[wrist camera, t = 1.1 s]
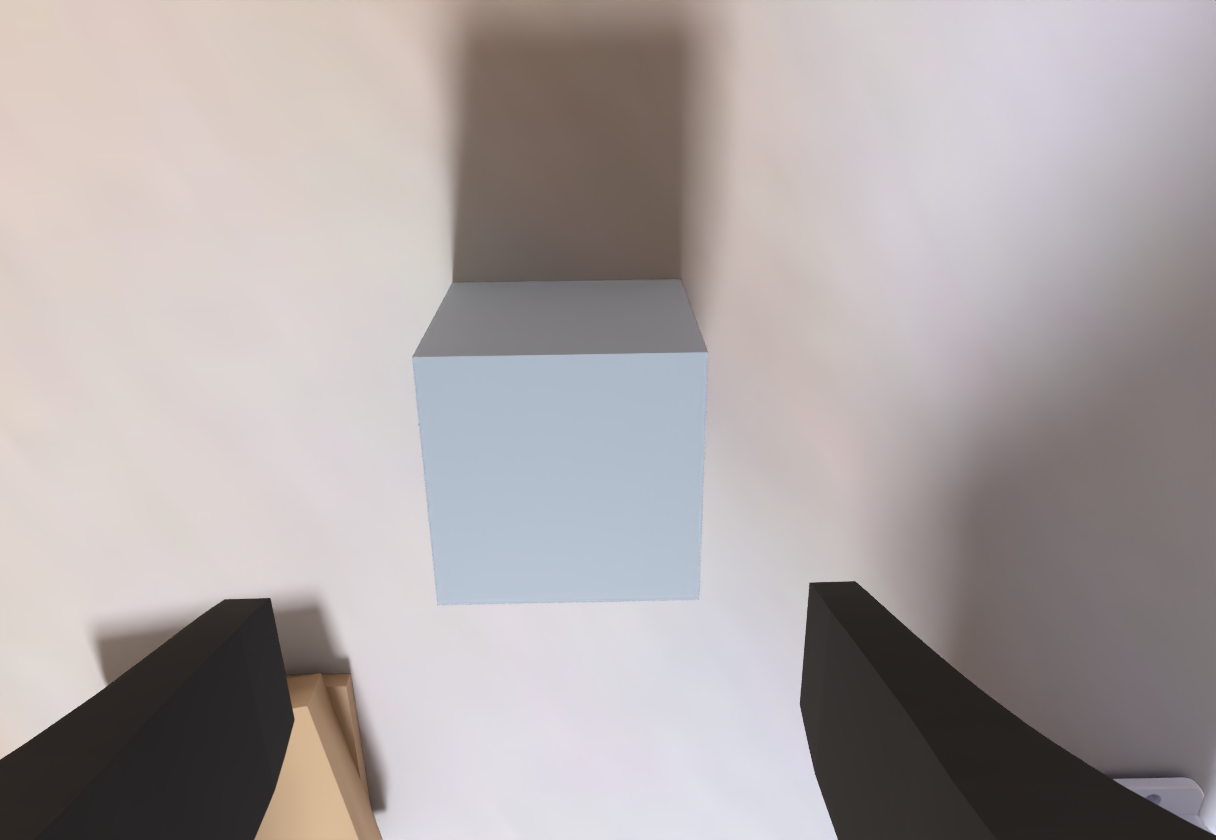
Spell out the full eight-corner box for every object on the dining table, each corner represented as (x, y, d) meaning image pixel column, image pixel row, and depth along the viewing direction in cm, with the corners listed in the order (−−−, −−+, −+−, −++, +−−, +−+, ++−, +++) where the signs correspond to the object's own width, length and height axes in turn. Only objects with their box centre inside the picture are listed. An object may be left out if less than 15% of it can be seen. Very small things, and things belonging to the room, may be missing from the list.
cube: (680, 278, 20) (708, 352, 15) (676, 480, 22) (699, 599, 17) (453, 281, 20) (412, 357, 15) (469, 484, 22) (437, 605, 17)
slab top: (320, 672, 23) (307, 706, 22) (383, 842, 26) (374, 880, 24) (97, 708, 23) (71, 743, 22) (179, 873, 26) (160, 912, 25)
